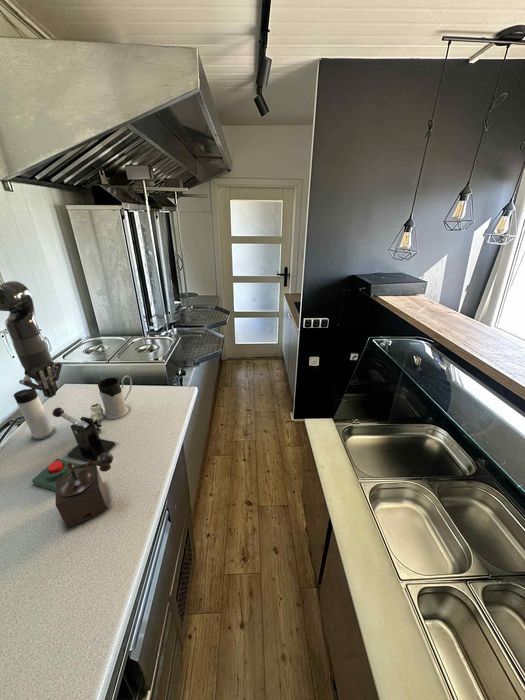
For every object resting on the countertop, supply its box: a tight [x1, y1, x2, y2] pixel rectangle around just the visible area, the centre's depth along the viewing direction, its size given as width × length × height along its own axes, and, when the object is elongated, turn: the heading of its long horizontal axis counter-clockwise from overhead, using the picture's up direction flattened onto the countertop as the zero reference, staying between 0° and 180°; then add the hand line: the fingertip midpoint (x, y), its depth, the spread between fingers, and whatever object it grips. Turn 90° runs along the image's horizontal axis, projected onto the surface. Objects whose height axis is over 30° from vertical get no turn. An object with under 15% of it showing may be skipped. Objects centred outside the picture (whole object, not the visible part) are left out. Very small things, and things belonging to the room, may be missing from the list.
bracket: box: [67, 416, 116, 463], centre depth 99 cm, size 12×9×13 cm
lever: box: [51, 407, 89, 431], centre depth 97 cm, size 13×3×3 cm, turn 76°
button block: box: [31, 457, 82, 492], centre depth 91 cm, size 11×9×4 cm
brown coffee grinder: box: [55, 452, 114, 529], centre depth 80 cm, size 16×11×18 cm
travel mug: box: [13, 388, 54, 440], centre depth 105 cm, size 6×7×20 cm
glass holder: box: [97, 375, 133, 420], centre depth 120 cm, size 9×14×15 cm, turn 151°
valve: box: [89, 402, 105, 432], centre depth 113 cm, size 7×7×12 cm
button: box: [47, 460, 63, 474], centre depth 90 cm, size 4×4×2 cm
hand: (51, 395), depth 94 cm, fingers closed
